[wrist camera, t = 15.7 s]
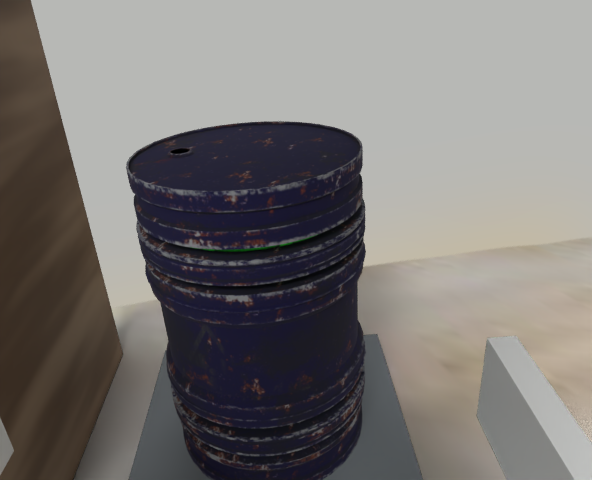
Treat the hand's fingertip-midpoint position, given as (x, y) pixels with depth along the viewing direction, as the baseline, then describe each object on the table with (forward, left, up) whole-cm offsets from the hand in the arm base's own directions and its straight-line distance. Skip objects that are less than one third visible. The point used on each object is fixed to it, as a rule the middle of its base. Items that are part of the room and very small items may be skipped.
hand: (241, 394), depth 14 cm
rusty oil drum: (0, -10, -11) cm, 15 cm away
